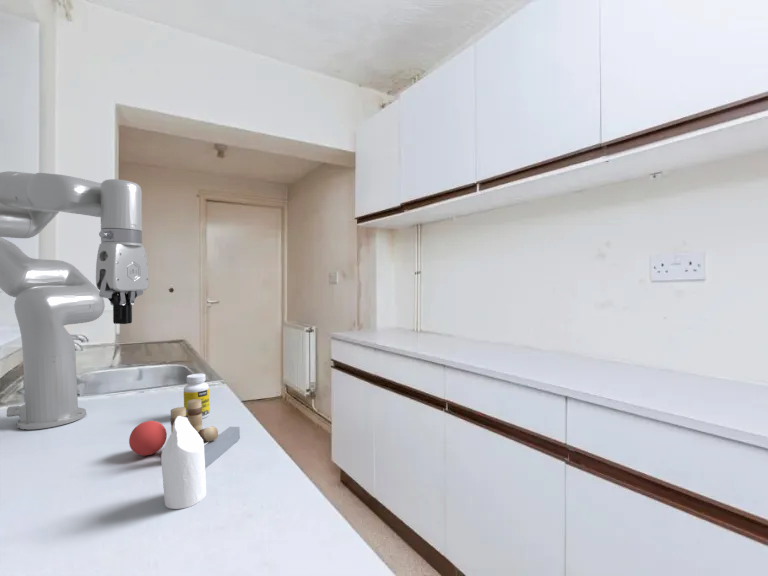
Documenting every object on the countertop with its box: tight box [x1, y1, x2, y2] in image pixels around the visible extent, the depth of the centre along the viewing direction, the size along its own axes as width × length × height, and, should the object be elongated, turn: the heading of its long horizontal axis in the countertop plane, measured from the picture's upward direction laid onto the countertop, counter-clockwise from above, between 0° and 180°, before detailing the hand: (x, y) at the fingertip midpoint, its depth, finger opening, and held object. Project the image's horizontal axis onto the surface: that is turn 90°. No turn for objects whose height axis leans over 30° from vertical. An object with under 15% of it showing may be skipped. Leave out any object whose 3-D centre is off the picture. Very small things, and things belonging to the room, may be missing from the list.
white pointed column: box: [160, 416, 207, 510], centre depth 59 cm, size 6×12×6 cm
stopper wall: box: [204, 426, 241, 469], centre depth 75 cm, size 2×14×2 cm, turn 173°
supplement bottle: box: [183, 373, 210, 420], centre depth 96 cm, size 5×5×10 cm
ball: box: [128, 420, 168, 457], centre depth 75 cm, size 6×6×6 cm
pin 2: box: [187, 399, 203, 431], centre depth 78 cm, size 2×2×9 cm
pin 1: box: [170, 406, 186, 434], centre depth 73 cm, size 2×2×9 cm
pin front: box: [197, 425, 219, 444], centre depth 75 cm, size 2×2×9 cm
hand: (122, 323), depth 89 cm, fingers closed
